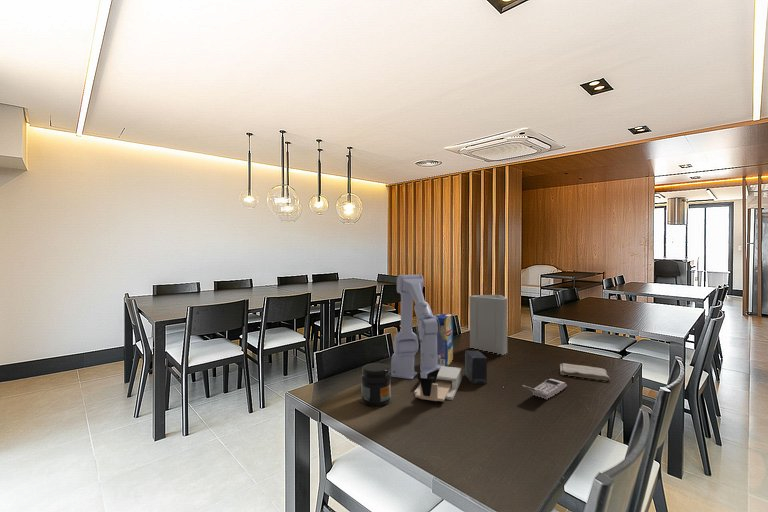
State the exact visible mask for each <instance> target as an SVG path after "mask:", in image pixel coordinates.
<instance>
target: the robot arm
mask: <svg viewBox="0 0 768 512" xmlns="http://www.w3.org/2000/svg"><path fill="white" fill-rule="evenodd" d="M423 276H424V275H422V274H421V273H419V274H418V273H417V274H399V275H398V276H397V278H396V292H397V293H398V294H400V331H398V332H397V333H396V334H394V335H393V342H392V349H393V352H394V353H392V355H391V360H390V369H391V370H390V376H391V378H392V377H393V378H399V379H408V380H412V379H414V377H416V376H417V377H416V378H417V380H418V381H419V385H420V384H421V387H422V391H423V395H424V396H430V394H431V387H432V383H435V384H436V379H437V375H438V372H439V370H440V369H441V366H438V365H437V334H439V332H440V323H439V320H438V318H437V317H435V315H434V314H433V311H432V309H431V306H430V304H429V302H427V301H426V300H425V297H424V293H423V289H424V286H425V285H424V283H425V282H424V281H425V280H424V277H423ZM413 302H414V304H415V305H414V307H413ZM413 310H414V312H415V315H416V319H417V329H418V335H417V334H416V333H415V332H413ZM418 339H419V340H420V365H419V369H420V373H421V374H420V373H418V372H417V371H415V356H416V355H417V354H416V353H418V351H419V340H418Z"/></svg>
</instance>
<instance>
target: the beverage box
mask: <svg viewBox="0 0 768 512" xmlns="http://www.w3.org/2000/svg"><path fill="white" fill-rule="evenodd" d="M453 315H454V314H450V313H449V314H448V313H437V314H435V315H434V316H435V317H437V318H438V320H439V323H440V332H439V334H437V365H438V366H446V367H449V365H450V364H451V363H452V362H453V361H454V353H453V352H454V325H453V324H454V319H453V318H454V316H453ZM452 360H453V361H452Z"/></svg>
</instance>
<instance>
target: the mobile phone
mask: <svg viewBox="0 0 768 512" xmlns="http://www.w3.org/2000/svg"><path fill="white" fill-rule="evenodd" d="M522 387H524V388H525V389H527V390H528V391H531V392H532V395H533V396H534V395H535V397H537V396H538V398H540V397H541V399H543V398H544V400H548V398H549V399H551V398H552V397H554V396H556V395H558V394H559V393H560V391H561V392H562V391H563V390H564V389H566V387H568V384H566V382H564V381H560V380H557V379H553V378H549V379H546V380H544V381H543V382H542V383H540V384H539V385H537V386H536V387H534V388H532V387H531V386H527V385H524V384H522ZM555 394H556V395H555ZM550 397H551V398H550Z"/></svg>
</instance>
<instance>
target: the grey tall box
mask: <svg viewBox="0 0 768 512" xmlns="http://www.w3.org/2000/svg"><path fill="white" fill-rule="evenodd" d="M470 348H474V349H479V350H483V351H482V352H484V351H488V352H487V353H489V352H493V353H492V354H494V353H497V354H496V355H499V354H501V355H500V356H505V355H507V354H508V298H507V297H505V296H504V295H501V294H478V295H475V294H474V295H470V296H469V349H470ZM474 349H473V350H474ZM479 350H478V351H479ZM506 353H507V354H506ZM504 354H505V355H504Z"/></svg>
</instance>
